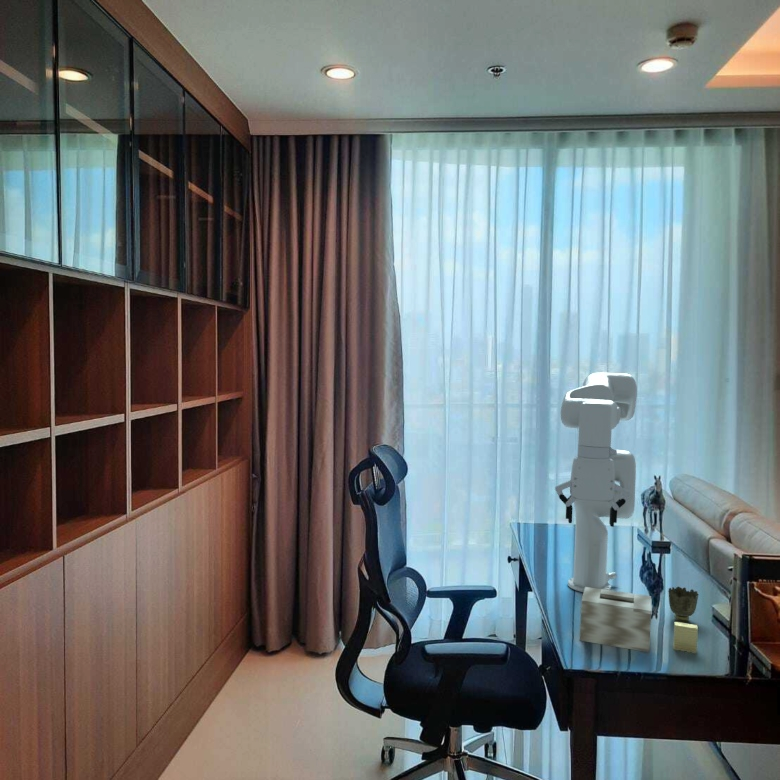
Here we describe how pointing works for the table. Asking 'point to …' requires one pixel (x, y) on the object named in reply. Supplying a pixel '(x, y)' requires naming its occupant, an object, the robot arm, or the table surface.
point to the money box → (616, 619)
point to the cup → (682, 603)
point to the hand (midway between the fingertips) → (590, 523)
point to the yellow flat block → (685, 637)
